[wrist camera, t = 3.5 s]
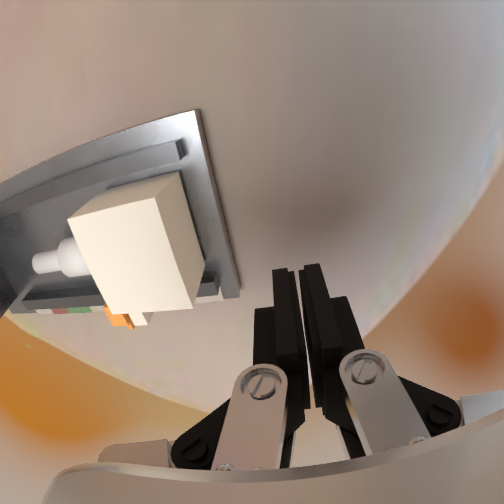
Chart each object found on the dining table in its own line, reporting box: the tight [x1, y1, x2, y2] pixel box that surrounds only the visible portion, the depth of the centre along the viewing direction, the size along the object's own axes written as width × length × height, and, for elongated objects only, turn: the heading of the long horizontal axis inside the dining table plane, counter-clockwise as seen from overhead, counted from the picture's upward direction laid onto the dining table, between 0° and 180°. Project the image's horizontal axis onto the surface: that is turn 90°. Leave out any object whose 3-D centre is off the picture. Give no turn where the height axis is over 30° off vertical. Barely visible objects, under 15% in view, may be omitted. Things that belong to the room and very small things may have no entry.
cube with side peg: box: [32, 171, 205, 326], centre depth 16 cm, size 11×8×4 cm
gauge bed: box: [0, 109, 241, 318], centre depth 16 cm, size 24×12×7 cm, turn 100°
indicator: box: [103, 303, 135, 330], centre depth 18 cm, size 1×3×2 cm, turn 10°
